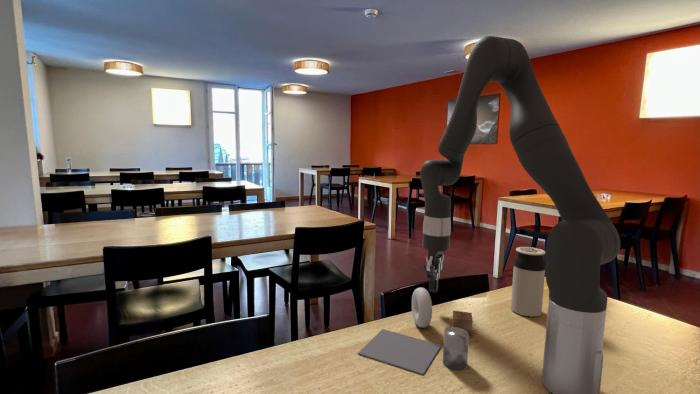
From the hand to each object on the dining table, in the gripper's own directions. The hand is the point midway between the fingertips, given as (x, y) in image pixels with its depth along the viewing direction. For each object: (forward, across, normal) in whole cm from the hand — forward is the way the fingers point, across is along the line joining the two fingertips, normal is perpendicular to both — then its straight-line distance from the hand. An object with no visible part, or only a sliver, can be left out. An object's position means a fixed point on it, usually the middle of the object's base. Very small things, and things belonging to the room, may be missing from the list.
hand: (433, 291), depth 105 cm
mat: (+5, -25, 0) cm, 26 cm away
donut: (+6, -11, 0) cm, 12 cm away
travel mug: (+6, +13, -23) cm, 27 cm away
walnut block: (+5, -9, -10) cm, 15 cm away
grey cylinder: (+5, -24, -12) cm, 28 cm away
